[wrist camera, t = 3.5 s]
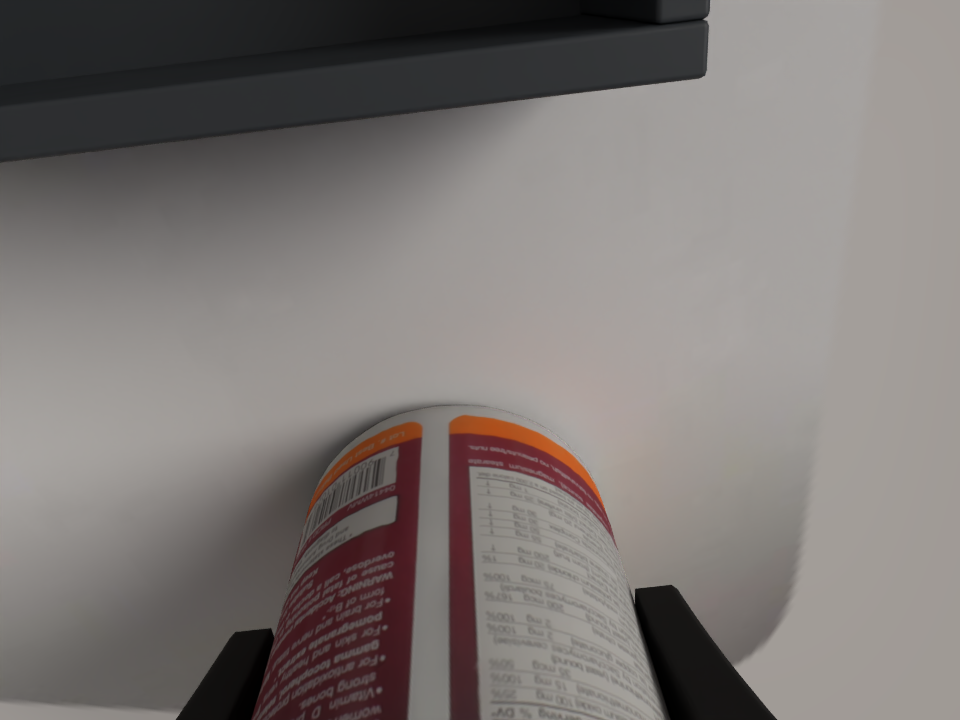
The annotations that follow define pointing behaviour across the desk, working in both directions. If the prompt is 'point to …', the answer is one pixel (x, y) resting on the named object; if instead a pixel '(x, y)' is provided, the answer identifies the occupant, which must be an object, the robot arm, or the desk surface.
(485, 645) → the pill bottle
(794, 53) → the desk surface
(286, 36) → the waste bin
